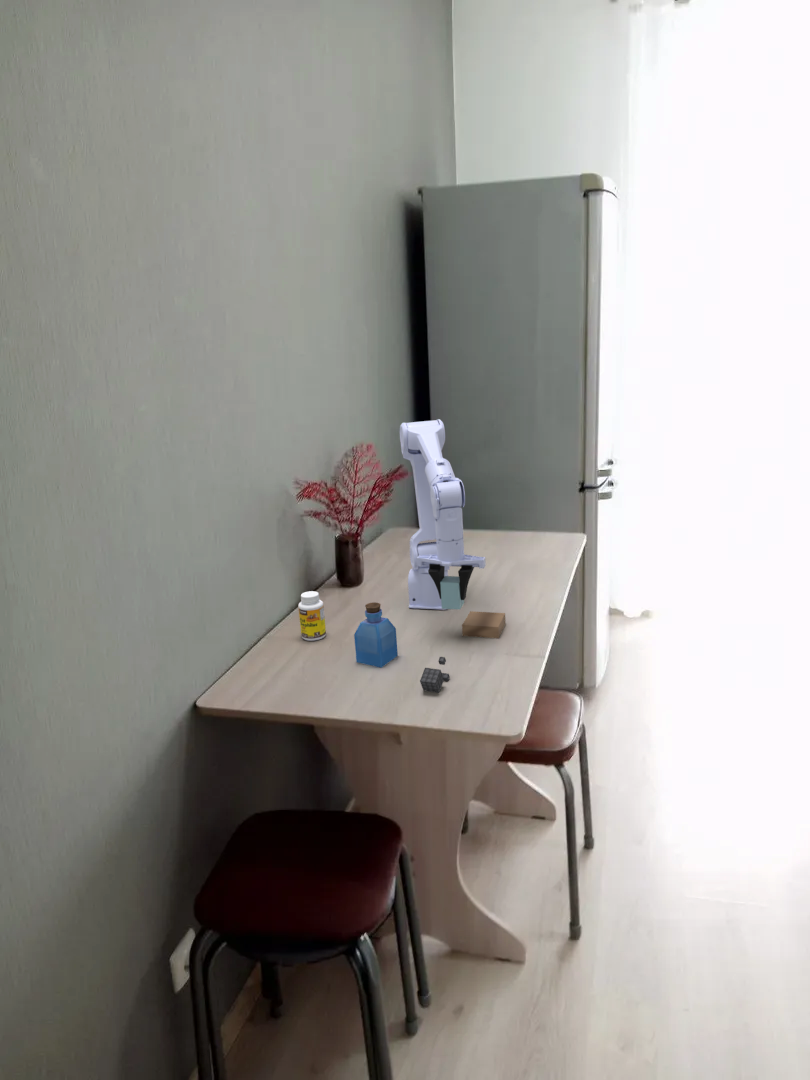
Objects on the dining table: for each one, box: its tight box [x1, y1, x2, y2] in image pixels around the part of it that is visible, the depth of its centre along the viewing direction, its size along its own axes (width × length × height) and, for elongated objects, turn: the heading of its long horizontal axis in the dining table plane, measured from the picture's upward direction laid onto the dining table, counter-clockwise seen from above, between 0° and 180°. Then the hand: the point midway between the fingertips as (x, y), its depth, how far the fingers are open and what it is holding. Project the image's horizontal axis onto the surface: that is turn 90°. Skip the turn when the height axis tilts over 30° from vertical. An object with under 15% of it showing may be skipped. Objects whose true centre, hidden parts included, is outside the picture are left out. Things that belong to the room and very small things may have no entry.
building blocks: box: [419, 656, 450, 694], centre depth 156 cm, size 3×6×8 cm
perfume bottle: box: [353, 601, 399, 669], centre depth 168 cm, size 6×6×12 cm
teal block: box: [440, 575, 465, 610], centre depth 175 cm, size 4×4×6 cm
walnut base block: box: [461, 610, 507, 639], centre depth 180 cm, size 8×8×3 cm
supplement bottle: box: [297, 590, 327, 642], centre depth 182 cm, size 6×6×10 cm
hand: (452, 597), depth 176 cm, fingers closed on teal block, 4 cm apart
